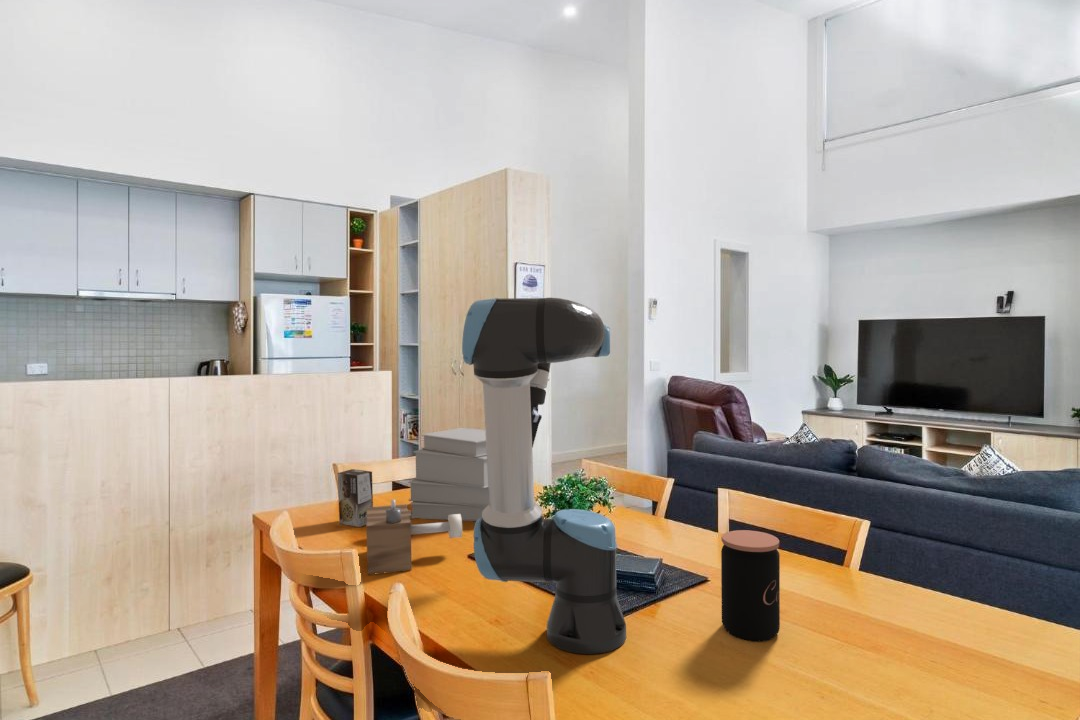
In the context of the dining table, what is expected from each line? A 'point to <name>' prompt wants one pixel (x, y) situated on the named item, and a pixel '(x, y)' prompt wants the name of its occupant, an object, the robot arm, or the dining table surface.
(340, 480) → the coffee box
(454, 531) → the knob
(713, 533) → the dining table surface
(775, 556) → the coffee jar
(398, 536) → the block
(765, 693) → the dining table surface
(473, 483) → the book stack
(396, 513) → the potentiometer
